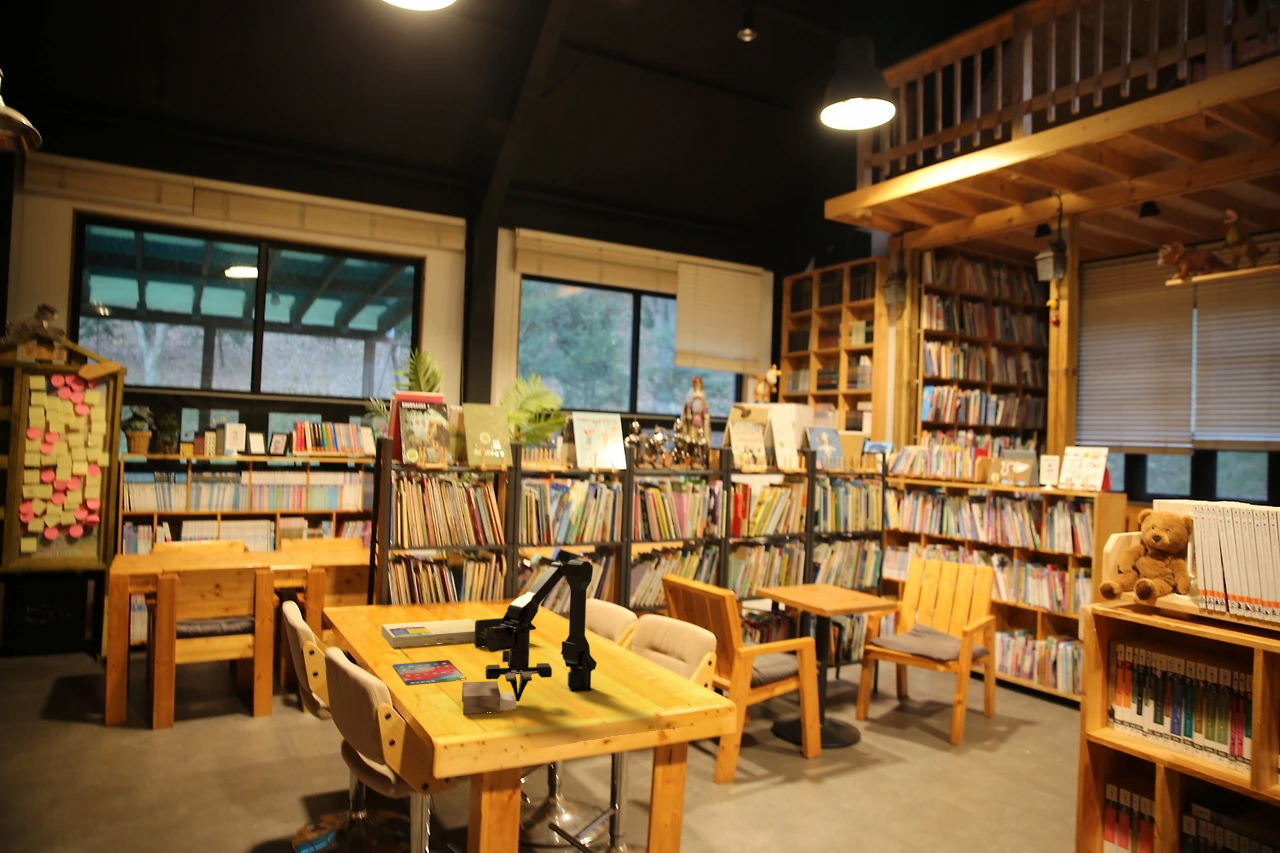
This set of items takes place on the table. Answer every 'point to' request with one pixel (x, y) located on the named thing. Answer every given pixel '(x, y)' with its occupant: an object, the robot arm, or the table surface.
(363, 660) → the table surface
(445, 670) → the tablet
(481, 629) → the nameplate
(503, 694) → the beige block
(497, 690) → the wood grain block
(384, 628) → the puzzle box
